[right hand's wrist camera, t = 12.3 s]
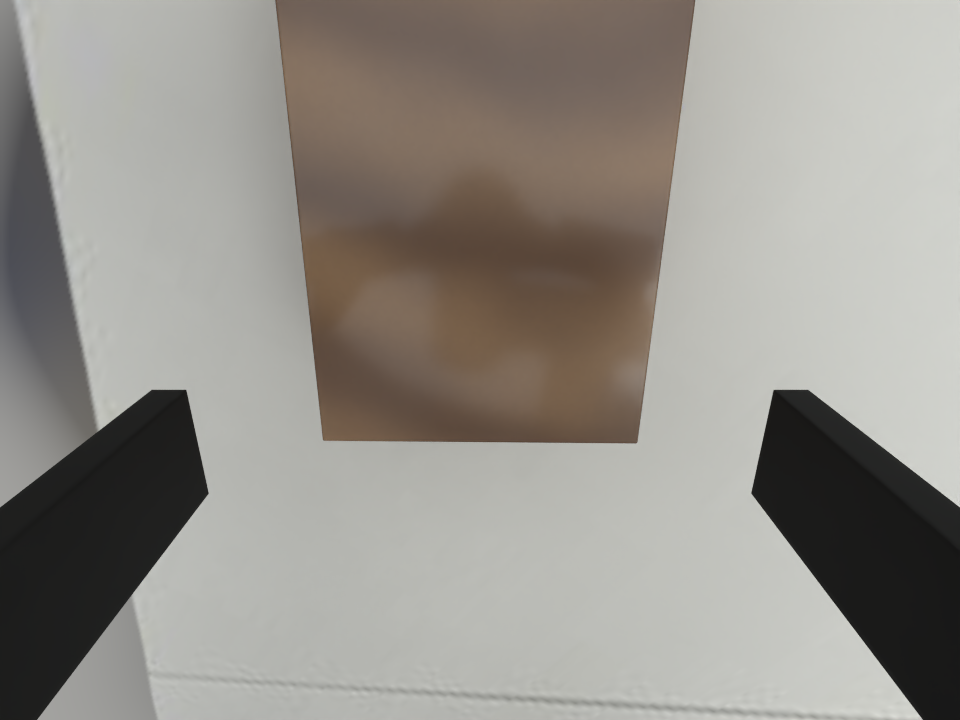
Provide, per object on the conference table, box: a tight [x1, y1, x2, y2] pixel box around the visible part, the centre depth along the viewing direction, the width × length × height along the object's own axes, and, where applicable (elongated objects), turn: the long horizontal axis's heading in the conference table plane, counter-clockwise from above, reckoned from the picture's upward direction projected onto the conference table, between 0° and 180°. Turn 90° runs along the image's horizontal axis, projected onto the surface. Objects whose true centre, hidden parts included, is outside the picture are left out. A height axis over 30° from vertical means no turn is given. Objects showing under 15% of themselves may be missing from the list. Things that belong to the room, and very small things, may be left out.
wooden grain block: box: [275, 0, 695, 443], centre depth 21 cm, size 15×11×9 cm
